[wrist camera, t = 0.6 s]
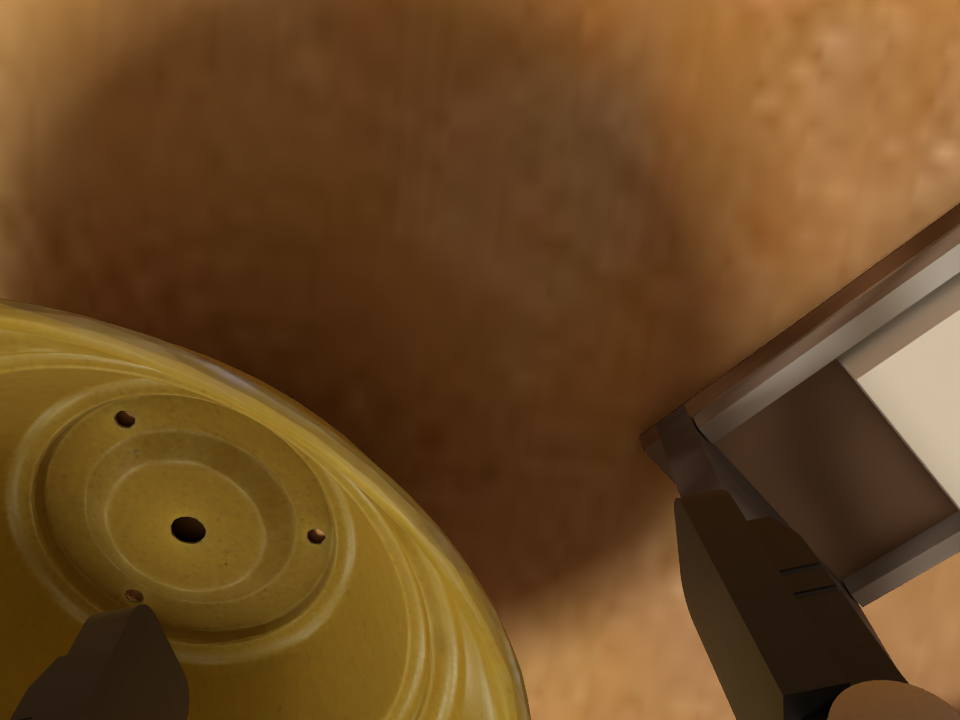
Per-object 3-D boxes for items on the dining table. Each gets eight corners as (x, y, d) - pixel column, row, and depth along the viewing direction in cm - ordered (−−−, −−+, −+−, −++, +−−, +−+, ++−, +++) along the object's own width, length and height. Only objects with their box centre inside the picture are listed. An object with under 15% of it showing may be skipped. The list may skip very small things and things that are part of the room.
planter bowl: (458, 121, 29) (420, 197, 17) (565, 715, 42) (587, 1002, 30) (-277, 253, 33) (-750, 396, 20) (31, 766, 45) (-145, 1042, 33)
